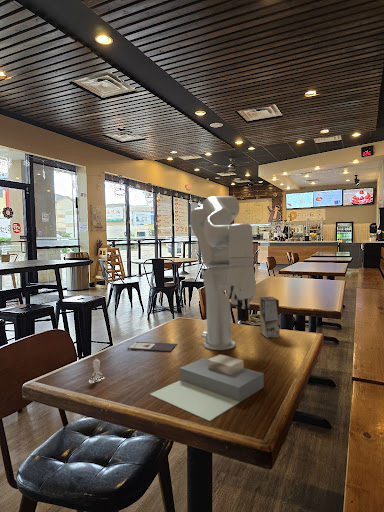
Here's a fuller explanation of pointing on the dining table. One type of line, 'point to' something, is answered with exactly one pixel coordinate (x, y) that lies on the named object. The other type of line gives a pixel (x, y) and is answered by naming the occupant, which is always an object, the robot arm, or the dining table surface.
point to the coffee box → (269, 317)
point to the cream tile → (225, 364)
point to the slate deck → (222, 380)
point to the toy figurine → (96, 370)
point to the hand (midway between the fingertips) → (243, 320)
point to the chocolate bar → (153, 346)
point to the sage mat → (195, 399)
